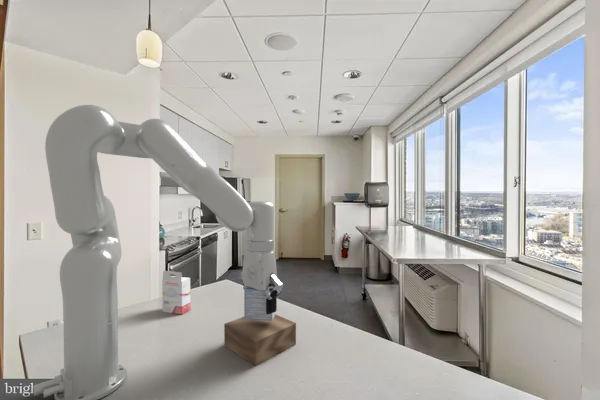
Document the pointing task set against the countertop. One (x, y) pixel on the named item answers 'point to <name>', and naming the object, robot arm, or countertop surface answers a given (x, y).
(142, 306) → the countertop surface
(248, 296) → the medicine box
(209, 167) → the robot arm
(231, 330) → the block
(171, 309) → the ink cartridge box
